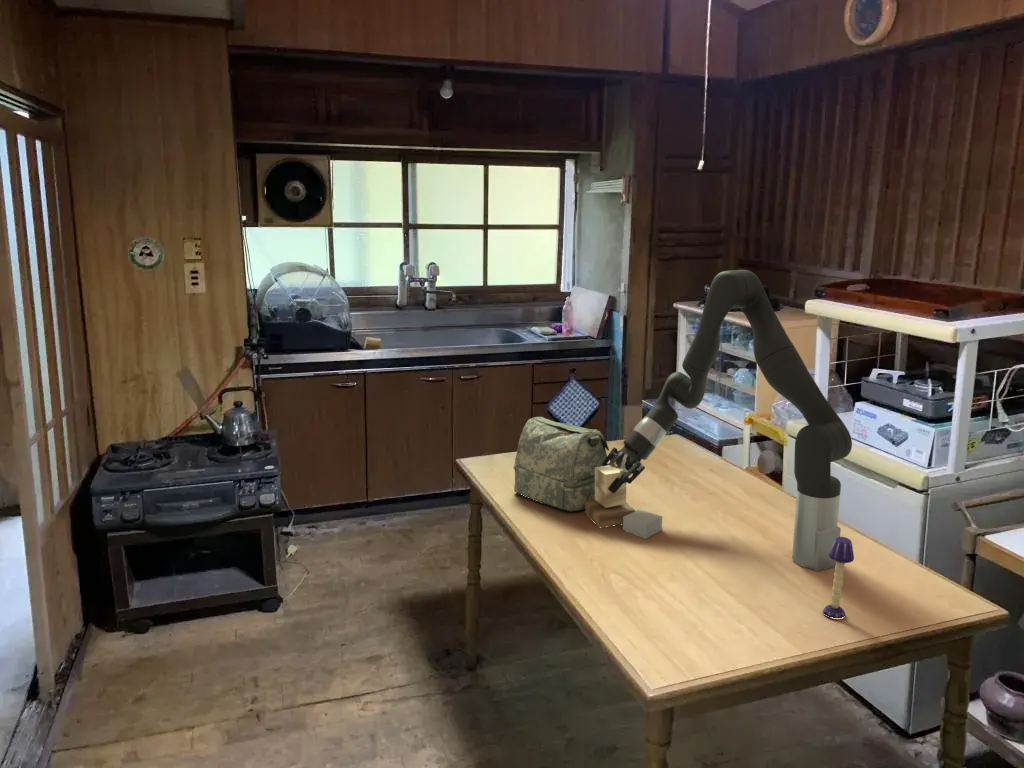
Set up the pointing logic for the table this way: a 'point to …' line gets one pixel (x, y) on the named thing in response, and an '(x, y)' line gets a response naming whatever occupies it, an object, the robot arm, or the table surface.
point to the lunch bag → (558, 463)
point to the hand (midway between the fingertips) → (604, 487)
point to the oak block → (603, 481)
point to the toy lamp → (839, 574)
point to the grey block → (642, 523)
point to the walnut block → (607, 513)
